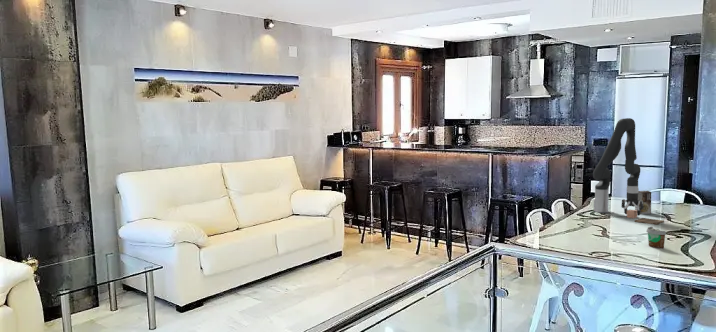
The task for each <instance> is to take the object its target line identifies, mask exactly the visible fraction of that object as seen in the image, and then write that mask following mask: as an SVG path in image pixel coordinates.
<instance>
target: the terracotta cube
mask: <svg viewBox="0 0 716 332" xmlns="http://www.w3.org/2000/svg"><path fill="white" fill-rule="evenodd" d="M626 218H629V219H635V218H638V215H637V210H635V209H627V214H626Z"/></svg>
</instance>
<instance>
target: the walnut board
mask: <svg viewBox="0 0 716 332" xmlns="http://www.w3.org/2000/svg"><path fill="white" fill-rule="evenodd" d="M634 222H635V223H640V224H647V225H648V224H649V225H653V226H654V225H655V226H657V225H660V224H663V223H665V220H663V219H654V218H646V217H641V218H638V219H635V220H634Z"/></svg>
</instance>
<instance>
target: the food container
mask: <svg viewBox="0 0 716 332" xmlns="http://www.w3.org/2000/svg"><path fill="white" fill-rule="evenodd" d="M646 233H647V240H648V242H647V243H648V247H651V248H653V249H654V248H655V249H664V248H665V241H666V239H665V238H666V235H667V232H666V230H660V229H657V228H654V226H648V227H647V228H646Z"/></svg>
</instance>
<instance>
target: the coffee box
mask: <svg viewBox="0 0 716 332" xmlns="http://www.w3.org/2000/svg"><path fill="white" fill-rule="evenodd" d="M638 200H639V201H643V206H644V209H642V210H641V214H640V215H644V214H652V191H649V190H639V197H638ZM638 205H639V207H640V204H639V203H638ZM634 210H638V209H637V208H636V207H635V206H634Z"/></svg>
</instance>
